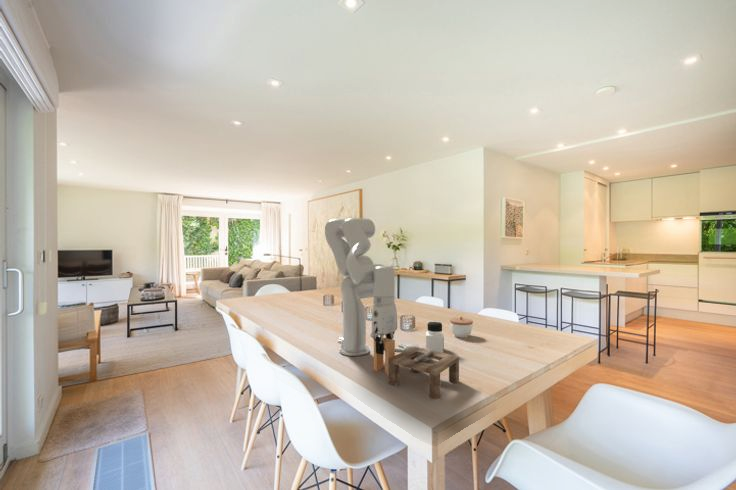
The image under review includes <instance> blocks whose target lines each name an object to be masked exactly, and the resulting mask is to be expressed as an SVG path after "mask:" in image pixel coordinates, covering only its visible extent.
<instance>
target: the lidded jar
mask: <svg viewBox="0 0 736 490" xmlns="http://www.w3.org/2000/svg"><path fill="white" fill-rule="evenodd" d="M473 323H474V322H473V320H472V319H470V318H465V317H463V316H460V317H453V318H450V320H449V325H450V329H451V330H450V331H451V332H452V334H453V335H454V337H456V338H468V337H469V335H471V333H472V331H473Z"/></svg>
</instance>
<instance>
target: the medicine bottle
mask: <svg viewBox="0 0 736 490" xmlns="http://www.w3.org/2000/svg"><path fill="white" fill-rule="evenodd" d="M444 339H445V337H444V332H443V323H442V322H440V321H435V320H434V321H433V320H432V321H429V322H428V323H427V331H426V332H425V348H426V349H429V350H433V351H436V352H440V353H445V351H444V349H445V346H444V345H445V342H444V341H445V340H444Z"/></svg>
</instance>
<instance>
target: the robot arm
mask: <svg viewBox="0 0 736 490" xmlns="http://www.w3.org/2000/svg"><path fill="white" fill-rule="evenodd" d="M375 233H376V226H375V224H374V222H373V221H372V220H371V219H369V218H365V217H364V218H360V217H350V218H347V219H345V218H333V219H330V220H329V221H327V222H326V223H325V225H324V235H325V240H326V242H327V244H328V246H329V248H330V249H331V252H332V253H333V257H334V260H335V261H334V262H335V263H336V266H337V270H338V272H339V274H340V275H341V276H342V277H344V278H343V279H342V280H341V282H340V291H341V292H340V293H341V299H342V325H343V326H342V337H339V339H338V340H337V343H338V344H339V345H341V346H340V348H339V353H340V354H342V355H344V356H349V357H356V356H357V357H361V356H363V355H367V354H368V353H370V347H369V346H367V341H366V340H367V338H366V337H367V336H366V335H367V334H366V333H367V331H366V330H367V327H366V326H367V325H366V324H367V322H366V316H367V314H366V306H365V305H364V303H363V302H362V300H361V299H367V298H368V299H369V298H373V304H372V305H373V307H372V313H371V314H372V315H371V332H370V337H371V338H372V339H373V342H374V341H375V342H376V353H378V354H381V355H383V356H384V355H385V350H384V343H383V338H384V336H385V338H388V339H393V340H394V337H395V336H394V335H395V332H396V331H397V330H398V314H397V313H398V311H397V305H396V303H395V302H396V299H395V296H396V295H395V284H396V283H395V276H396V275H395V268H394V267H393V266H392V265H391V266H390V265H384V264H382V263H380V264H379V263H378V264H377V263H375V264H374V262H373V260H372V258H371V257H370V256H368V255H365V254H366V253H368V251H369V250H370V249H371V245H372V244H371V241H370V239H371V238H373V236H374V235H375ZM343 238H345V240H344V239H343ZM379 337H380V338H379Z"/></svg>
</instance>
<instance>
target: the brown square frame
mask: <svg viewBox="0 0 736 490" xmlns="http://www.w3.org/2000/svg"><path fill="white" fill-rule="evenodd" d="M423 348H424V347H423ZM423 348H418V347H412V348H410V349H408V350H406V351H404V352H399V353H397V354H395V356H393V357H391V358H389V374H388V384H389V385H392V386H396V385H397V384H399V383H400V367H403V368H408V369H410V371H411V372H413V373H418V372H421V373H426V374H428V397H430V398H431V399H435V400H437V399H439V398H440V397H441V374H442V373H443V372H444V371H446V370H447V369H448V382H450V383H453V384H457V383H459V382H460V356H457V355H453V354H449V353H445V352H444V353H440V352H436V351H433V350H427V349H423ZM425 357H428V358H432V359H431V360H436V361H435V362H434V363H433V364H431V363H427V362H422V361H421V360H422V359H423V358H425ZM410 358H411V359H410Z"/></svg>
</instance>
